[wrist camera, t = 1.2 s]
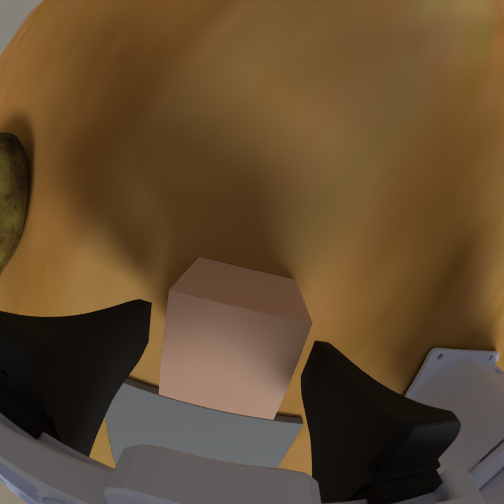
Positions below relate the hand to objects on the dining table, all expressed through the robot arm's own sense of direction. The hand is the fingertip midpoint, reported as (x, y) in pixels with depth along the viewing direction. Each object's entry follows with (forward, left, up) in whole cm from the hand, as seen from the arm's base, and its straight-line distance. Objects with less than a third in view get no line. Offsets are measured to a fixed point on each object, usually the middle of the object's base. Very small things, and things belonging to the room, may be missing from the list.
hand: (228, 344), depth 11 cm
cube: (0, 0, -3) cm, 3 cm away
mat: (+1, +14, -3) cm, 14 cm away
